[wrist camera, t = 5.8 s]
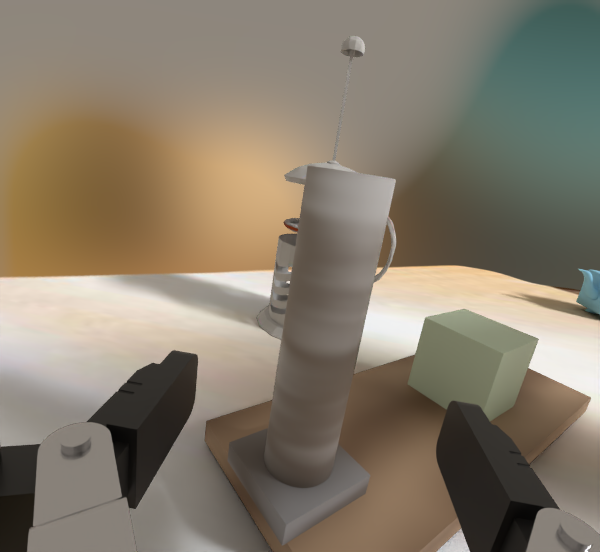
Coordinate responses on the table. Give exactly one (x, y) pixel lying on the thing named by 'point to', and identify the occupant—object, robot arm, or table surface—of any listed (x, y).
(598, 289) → the teapot
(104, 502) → the robot arm
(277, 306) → the french press
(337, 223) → the wooden board with post
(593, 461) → the table surface
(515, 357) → the cube
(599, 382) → the table surface
